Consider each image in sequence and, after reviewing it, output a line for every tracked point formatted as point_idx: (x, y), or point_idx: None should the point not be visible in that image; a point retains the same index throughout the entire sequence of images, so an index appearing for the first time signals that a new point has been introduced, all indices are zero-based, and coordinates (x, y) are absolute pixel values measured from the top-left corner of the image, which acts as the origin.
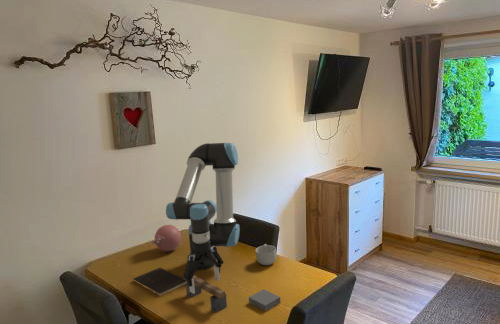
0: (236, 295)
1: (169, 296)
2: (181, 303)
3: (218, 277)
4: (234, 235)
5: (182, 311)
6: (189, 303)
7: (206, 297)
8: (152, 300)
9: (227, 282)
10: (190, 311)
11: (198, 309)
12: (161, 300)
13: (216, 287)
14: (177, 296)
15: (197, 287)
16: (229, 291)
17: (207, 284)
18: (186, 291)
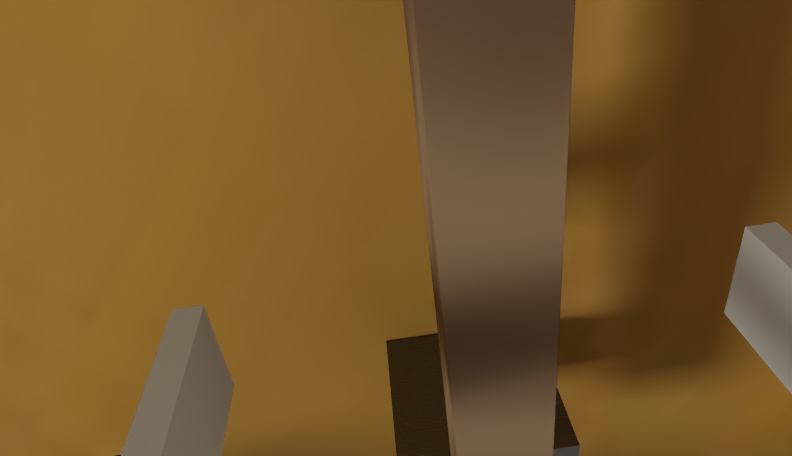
0: (7, 20)
1: (643, 432)
2: (663, 287)
3: (179, 365)
4: None
5: (777, 150)
6: (611, 241)
7: (397, 234)
8: (770, 449)
9: (24, 356)
10: (728, 89)
11: (637, 62)
12: (730, 417)
13: (437, 40)
14: (598, 401)
15: (443, 398)
16: (73, 179)
17: (500, 281)
18: None
